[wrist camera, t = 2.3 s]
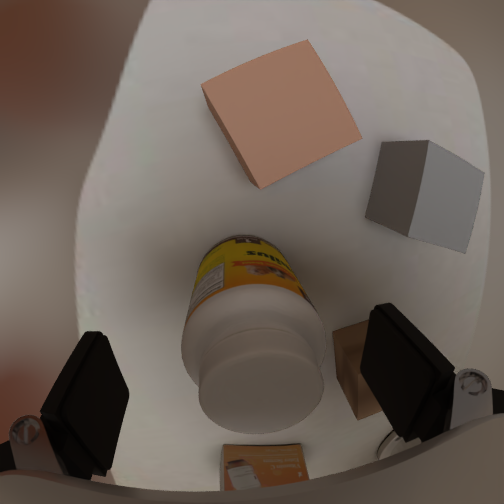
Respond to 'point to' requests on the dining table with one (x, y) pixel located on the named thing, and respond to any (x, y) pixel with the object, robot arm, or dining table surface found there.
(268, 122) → the terracotta block
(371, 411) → the walnut block
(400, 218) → the slate block
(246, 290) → the supplement bottle
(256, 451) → the small box
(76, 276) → the dining table surface
